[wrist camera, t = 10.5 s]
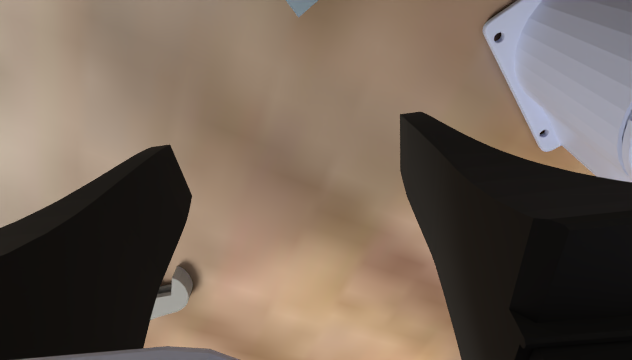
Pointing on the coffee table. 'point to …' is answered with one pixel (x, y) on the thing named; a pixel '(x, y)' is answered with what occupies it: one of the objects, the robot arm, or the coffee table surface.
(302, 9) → the bin
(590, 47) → the robot arm
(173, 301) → the adjustable wrench
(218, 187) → the coffee table surface
